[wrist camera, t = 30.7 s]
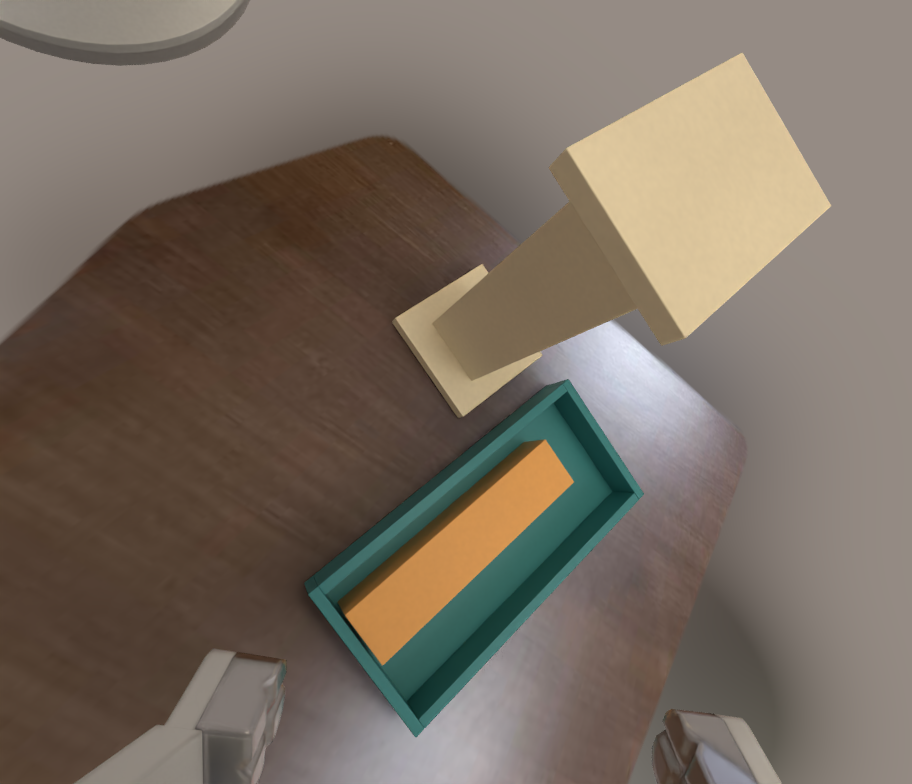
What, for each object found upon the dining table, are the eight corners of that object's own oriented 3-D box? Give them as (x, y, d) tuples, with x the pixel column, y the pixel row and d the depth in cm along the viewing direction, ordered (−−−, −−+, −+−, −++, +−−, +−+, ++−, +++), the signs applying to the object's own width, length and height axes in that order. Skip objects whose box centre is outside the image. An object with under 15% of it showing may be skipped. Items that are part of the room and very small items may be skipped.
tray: (402, 714, 37) (416, 737, 33) (303, 583, 35) (307, 594, 32) (617, 492, 47) (644, 494, 44) (546, 385, 46) (568, 378, 42)
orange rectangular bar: (371, 648, 36) (382, 666, 33) (337, 601, 36) (344, 615, 32) (551, 481, 44) (574, 482, 40) (524, 441, 43) (545, 439, 40)
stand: (449, 424, 42) (700, 361, 18) (382, 327, 41) (550, 122, 17) (543, 352, 46) (842, 224, 22) (484, 263, 45) (731, 31, 21)
